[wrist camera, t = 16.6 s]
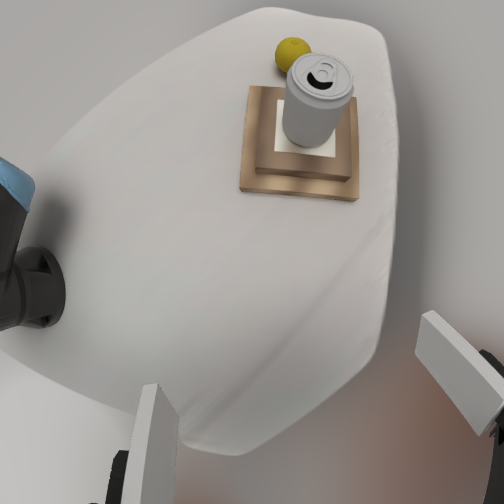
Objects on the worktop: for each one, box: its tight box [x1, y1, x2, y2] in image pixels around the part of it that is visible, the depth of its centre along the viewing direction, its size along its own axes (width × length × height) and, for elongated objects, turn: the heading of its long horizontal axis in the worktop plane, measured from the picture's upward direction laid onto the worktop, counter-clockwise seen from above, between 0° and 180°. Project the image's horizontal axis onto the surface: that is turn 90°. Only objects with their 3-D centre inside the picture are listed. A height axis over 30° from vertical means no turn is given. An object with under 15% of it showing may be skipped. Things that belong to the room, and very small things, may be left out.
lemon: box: [275, 37, 311, 73], centre depth 34 cm, size 6×6×8 cm
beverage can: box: [282, 53, 354, 147], centre depth 26 cm, size 6×6×12 cm
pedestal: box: [239, 86, 359, 202], centre depth 35 cm, size 16×16×6 cm
